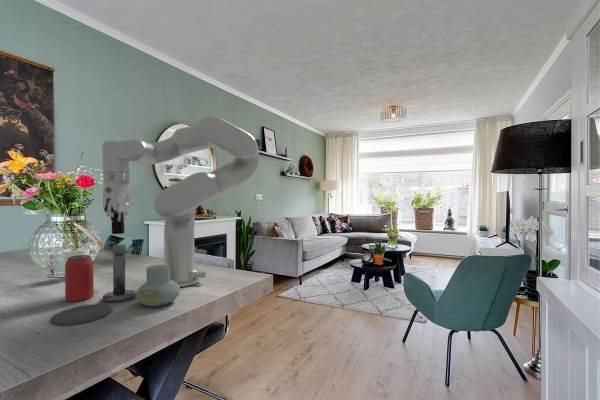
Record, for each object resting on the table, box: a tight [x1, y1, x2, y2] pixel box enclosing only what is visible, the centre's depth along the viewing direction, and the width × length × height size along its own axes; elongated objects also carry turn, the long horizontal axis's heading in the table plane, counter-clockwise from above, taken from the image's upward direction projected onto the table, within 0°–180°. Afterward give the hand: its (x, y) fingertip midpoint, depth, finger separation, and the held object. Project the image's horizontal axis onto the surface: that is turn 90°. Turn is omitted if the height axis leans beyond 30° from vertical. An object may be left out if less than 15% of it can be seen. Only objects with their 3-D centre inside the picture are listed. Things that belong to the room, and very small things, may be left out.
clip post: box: [102, 253, 136, 304], centre depth 88 cm, size 8×8×13 cm
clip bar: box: [112, 237, 133, 255], centre depth 96 cm, size 22×3×2 cm, turn 22°
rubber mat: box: [50, 303, 113, 326], centre depth 75 cm, size 12×12×1 cm
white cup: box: [62, 247, 91, 272], centre depth 111 cm, size 8×8×10 cm
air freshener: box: [135, 264, 181, 308], centre depth 84 cm, size 11×8×10 cm
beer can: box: [64, 254, 95, 303], centre depth 87 cm, size 7×7×12 cm
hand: (118, 233), depth 102 cm, fingers closed
